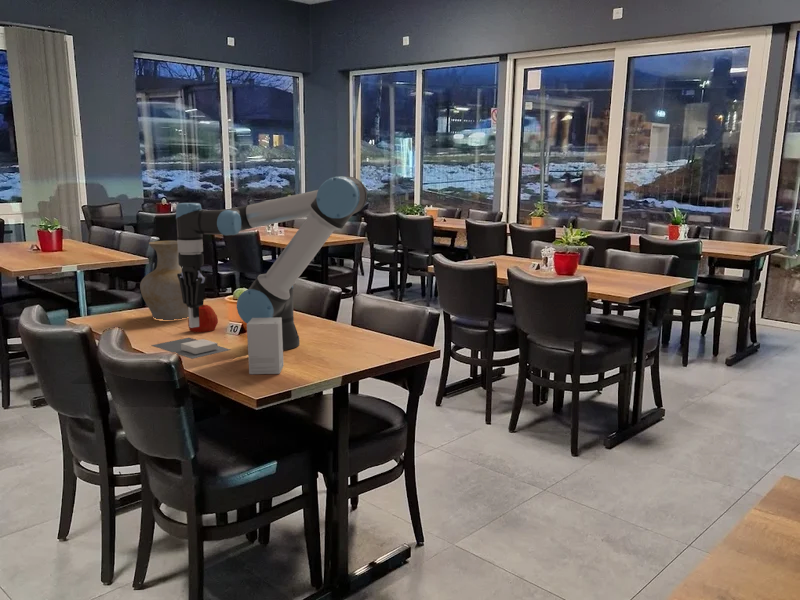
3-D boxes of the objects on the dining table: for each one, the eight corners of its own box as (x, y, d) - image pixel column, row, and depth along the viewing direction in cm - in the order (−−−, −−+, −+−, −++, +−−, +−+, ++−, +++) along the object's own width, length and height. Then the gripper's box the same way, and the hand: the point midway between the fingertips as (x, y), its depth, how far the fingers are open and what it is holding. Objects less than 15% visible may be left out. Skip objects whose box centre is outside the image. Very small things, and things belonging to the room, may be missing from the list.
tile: (203, 345, 217) (217, 349, 212) (181, 350, 211) (195, 354, 206) (203, 338, 216) (217, 343, 211) (181, 343, 211) (195, 347, 205)
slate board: (231, 353, 212) (231, 349, 212) (192, 362, 202) (192, 358, 202) (189, 340, 228) (189, 337, 228) (151, 348, 217) (151, 345, 217)
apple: (223, 331, 242) (222, 302, 240) (204, 337, 233) (203, 308, 231) (201, 328, 246) (200, 300, 244) (182, 334, 237) (180, 305, 235)
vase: (187, 309, 279) (183, 238, 273) (209, 318, 262) (205, 242, 257) (134, 316, 265) (129, 241, 260) (154, 326, 249) (148, 246, 243)
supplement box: (284, 365, 199) (282, 316, 196) (280, 374, 191) (278, 323, 188) (253, 365, 199) (252, 316, 196) (248, 374, 190) (246, 323, 187)
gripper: (213, 253, 205) (216, 328, 210) (189, 250, 214) (192, 321, 218) (192, 255, 200) (195, 332, 204) (168, 252, 208) (172, 325, 212)
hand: (194, 326), depth 211 cm, fingers closed
